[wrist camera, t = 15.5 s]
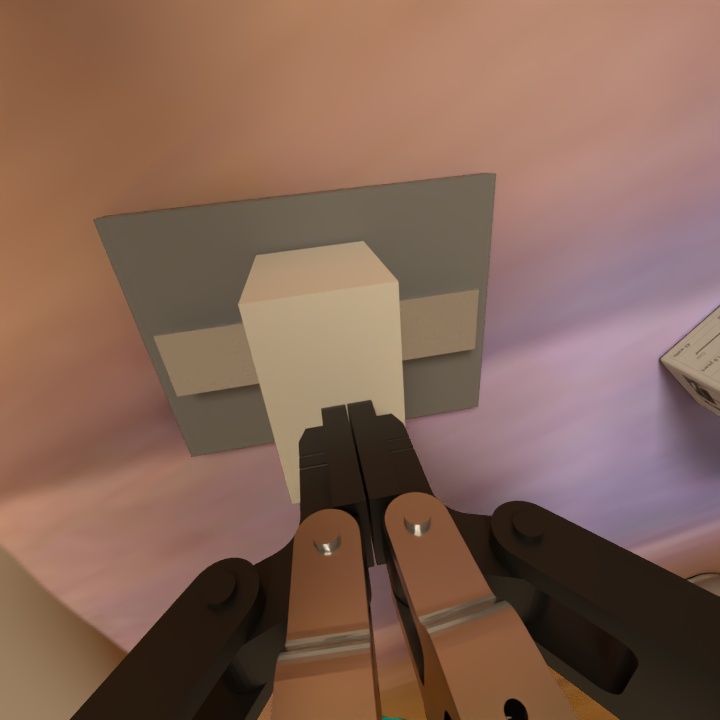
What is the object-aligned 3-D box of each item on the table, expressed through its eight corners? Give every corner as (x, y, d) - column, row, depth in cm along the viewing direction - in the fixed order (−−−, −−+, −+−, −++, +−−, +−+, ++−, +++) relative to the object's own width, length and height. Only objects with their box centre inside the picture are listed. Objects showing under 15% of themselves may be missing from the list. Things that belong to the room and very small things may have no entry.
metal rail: (162, 325, 16) (153, 336, 15) (467, 281, 18) (479, 289, 17) (183, 382, 18) (177, 396, 17) (464, 338, 19) (474, 348, 18)
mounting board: (104, 216, 15) (93, 219, 14) (485, 172, 16) (496, 173, 16) (195, 444, 21) (191, 456, 20) (470, 396, 22) (477, 406, 21)
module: (256, 255, 15) (237, 304, 10) (363, 240, 16) (398, 281, 11) (292, 413, 19) (292, 507, 14) (377, 398, 20) (408, 484, 15)
